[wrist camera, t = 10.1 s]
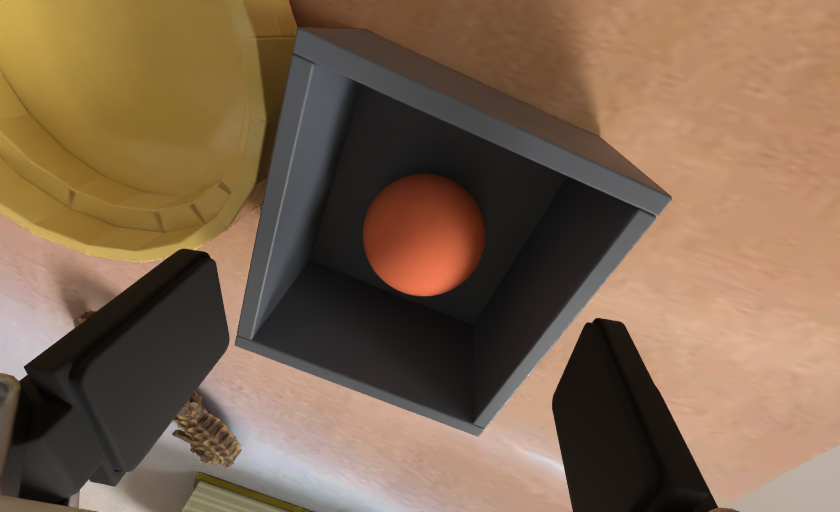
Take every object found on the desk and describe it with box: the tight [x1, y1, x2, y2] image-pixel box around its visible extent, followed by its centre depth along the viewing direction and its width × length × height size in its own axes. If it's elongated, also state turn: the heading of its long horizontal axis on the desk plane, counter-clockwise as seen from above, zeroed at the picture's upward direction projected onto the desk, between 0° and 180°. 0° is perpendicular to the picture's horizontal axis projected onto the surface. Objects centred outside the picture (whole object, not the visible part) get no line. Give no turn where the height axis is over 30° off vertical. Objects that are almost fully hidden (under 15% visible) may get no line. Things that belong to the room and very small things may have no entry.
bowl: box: [0, 0, 298, 262], centre depth 14 cm, size 15×15×4 cm
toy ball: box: [363, 174, 485, 296], centre depth 15 cm, size 5×5×5 cm
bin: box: [235, 27, 672, 436], centre depth 15 cm, size 11×10×6 cm
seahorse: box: [73, 310, 241, 467], centre depth 26 cm, size 6×15×2 cm, turn 22°
